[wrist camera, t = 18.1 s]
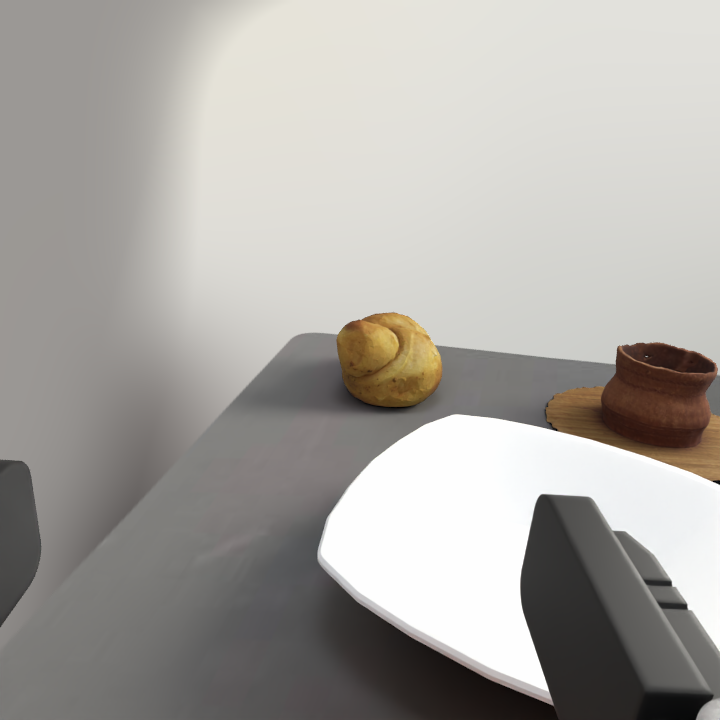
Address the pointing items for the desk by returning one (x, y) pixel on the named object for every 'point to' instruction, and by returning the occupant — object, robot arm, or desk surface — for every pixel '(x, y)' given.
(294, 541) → the desk surface
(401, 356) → the bread roll
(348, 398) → the desk surface
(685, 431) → the ceramic pot
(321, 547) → the bowl
